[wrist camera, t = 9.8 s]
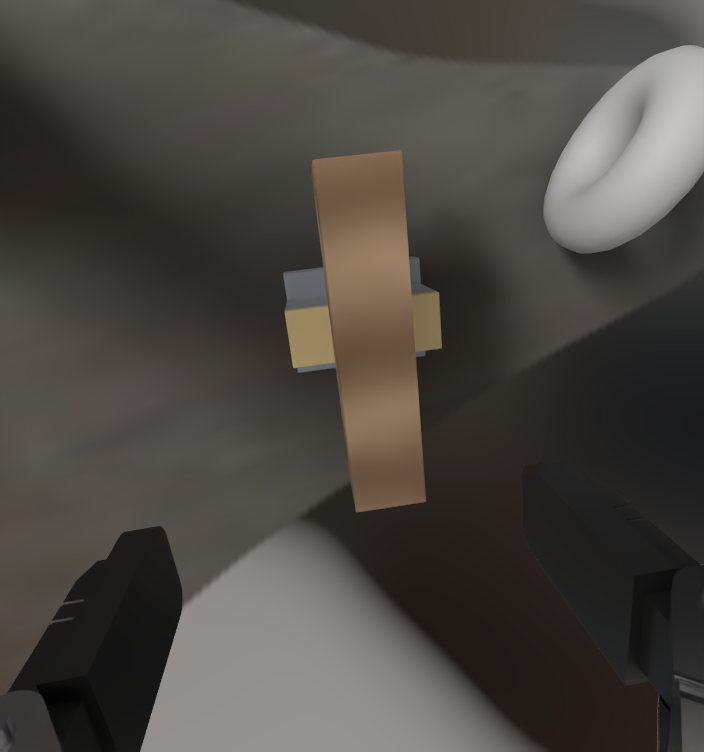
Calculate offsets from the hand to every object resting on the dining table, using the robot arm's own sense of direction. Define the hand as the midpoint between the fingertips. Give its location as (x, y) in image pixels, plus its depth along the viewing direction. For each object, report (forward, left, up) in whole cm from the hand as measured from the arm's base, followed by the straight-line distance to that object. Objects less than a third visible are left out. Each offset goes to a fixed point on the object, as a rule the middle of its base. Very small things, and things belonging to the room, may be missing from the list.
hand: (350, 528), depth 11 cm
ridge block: (-1, +2, -21) cm, 21 cm away
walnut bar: (-1, +2, -15) cm, 15 cm away
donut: (-8, +16, -21) cm, 28 cm away
